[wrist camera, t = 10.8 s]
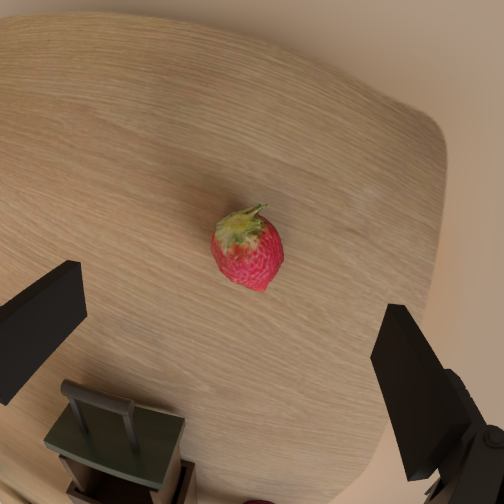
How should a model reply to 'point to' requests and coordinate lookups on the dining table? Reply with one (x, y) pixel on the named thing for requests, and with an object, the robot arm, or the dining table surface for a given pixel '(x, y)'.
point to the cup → (258, 502)
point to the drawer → (117, 448)
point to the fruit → (247, 248)
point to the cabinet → (185, 498)
